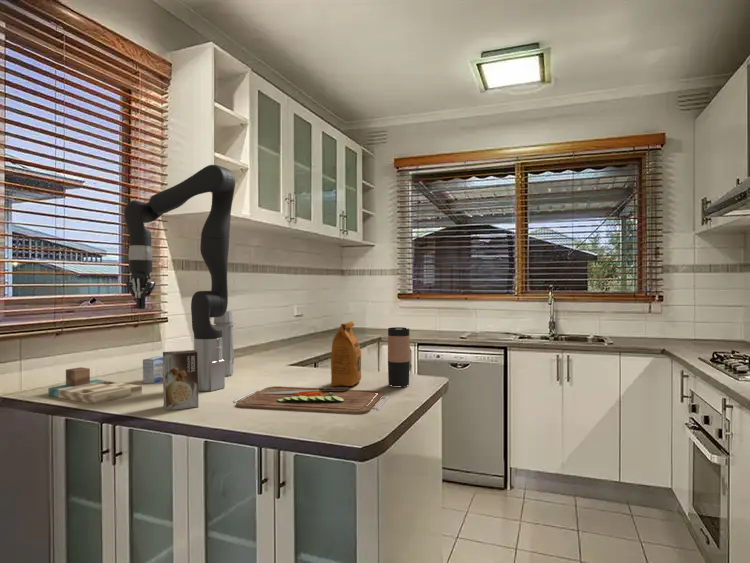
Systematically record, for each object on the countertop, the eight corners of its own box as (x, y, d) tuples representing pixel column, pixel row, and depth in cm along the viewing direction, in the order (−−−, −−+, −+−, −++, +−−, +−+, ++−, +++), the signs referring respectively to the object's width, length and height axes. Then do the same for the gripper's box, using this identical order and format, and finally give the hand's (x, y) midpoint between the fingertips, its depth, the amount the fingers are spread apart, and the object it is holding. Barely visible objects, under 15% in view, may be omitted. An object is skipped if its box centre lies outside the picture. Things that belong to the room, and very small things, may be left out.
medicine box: (153, 383, 183) (153, 359, 183) (142, 383, 184) (142, 359, 184) (166, 379, 191) (166, 356, 191) (156, 379, 192) (156, 355, 192)
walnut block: (89, 383, 171) (89, 368, 171) (74, 386, 166) (74, 370, 166) (80, 382, 173) (80, 367, 173) (65, 384, 169) (65, 369, 169)
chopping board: (223, 408, 149) (223, 398, 149) (262, 389, 175) (262, 380, 175) (375, 417, 140) (375, 405, 140) (392, 395, 166) (392, 386, 166)
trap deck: (141, 393, 166) (141, 386, 166) (94, 404, 152) (94, 395, 152) (96, 386, 178) (96, 379, 178) (48, 395, 164) (48, 387, 164)
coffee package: (365, 381, 185) (365, 321, 185) (353, 388, 173) (353, 324, 173) (340, 380, 188) (340, 320, 188) (326, 387, 176) (326, 323, 176)
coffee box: (195, 402, 154) (195, 349, 154) (198, 407, 149) (198, 352, 149) (162, 406, 150) (162, 351, 150) (164, 411, 144) (164, 354, 144)
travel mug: (384, 386, 177) (384, 328, 177) (392, 382, 184) (392, 326, 184) (405, 388, 174) (405, 329, 174) (412, 384, 181) (412, 327, 181)
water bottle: (209, 376, 197) (209, 311, 197) (225, 372, 204) (225, 310, 203) (224, 378, 192) (224, 311, 192) (241, 375, 198) (241, 310, 198)
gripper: (162, 259, 179) (162, 308, 179) (137, 259, 185) (137, 307, 185) (143, 258, 172) (144, 309, 172) (118, 259, 178) (118, 309, 178)
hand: (140, 308), depth 179 cm, fingers closed
